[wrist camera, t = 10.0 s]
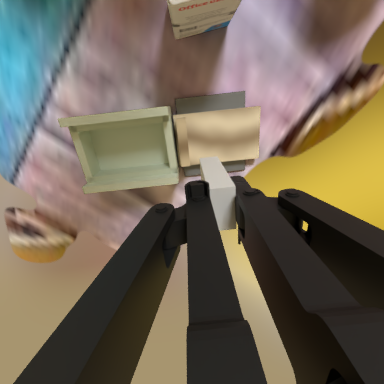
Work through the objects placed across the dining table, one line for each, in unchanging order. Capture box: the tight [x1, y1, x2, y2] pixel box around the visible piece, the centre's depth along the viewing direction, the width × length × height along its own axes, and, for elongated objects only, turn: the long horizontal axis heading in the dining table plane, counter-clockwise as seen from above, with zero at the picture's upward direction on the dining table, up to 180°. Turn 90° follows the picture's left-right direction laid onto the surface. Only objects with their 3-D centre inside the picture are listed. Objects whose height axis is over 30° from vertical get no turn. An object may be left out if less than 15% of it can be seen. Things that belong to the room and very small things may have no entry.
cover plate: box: [173, 106, 260, 167], centre depth 35 cm, size 9×15×4 cm, turn 96°
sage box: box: [58, 106, 179, 194], centre depth 34 cm, size 12×16×7 cm
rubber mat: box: [175, 91, 245, 176], centre depth 37 cm, size 14×12×1 cm
